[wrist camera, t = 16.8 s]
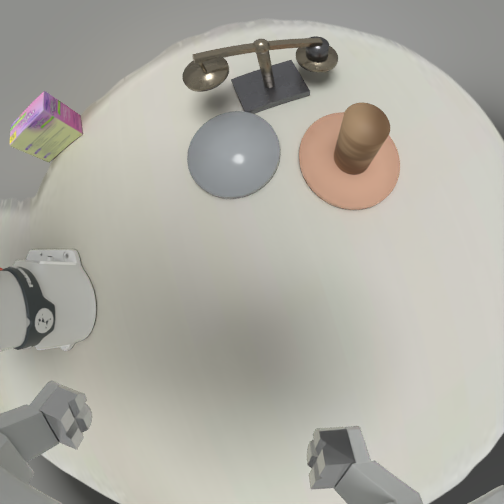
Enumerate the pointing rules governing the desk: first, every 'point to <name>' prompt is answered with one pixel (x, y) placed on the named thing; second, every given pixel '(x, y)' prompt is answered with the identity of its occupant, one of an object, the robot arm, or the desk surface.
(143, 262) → the desk surface
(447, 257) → the desk surface
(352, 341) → the desk surface
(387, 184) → the dish
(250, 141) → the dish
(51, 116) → the box
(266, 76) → the balance
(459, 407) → the desk surface
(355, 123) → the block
